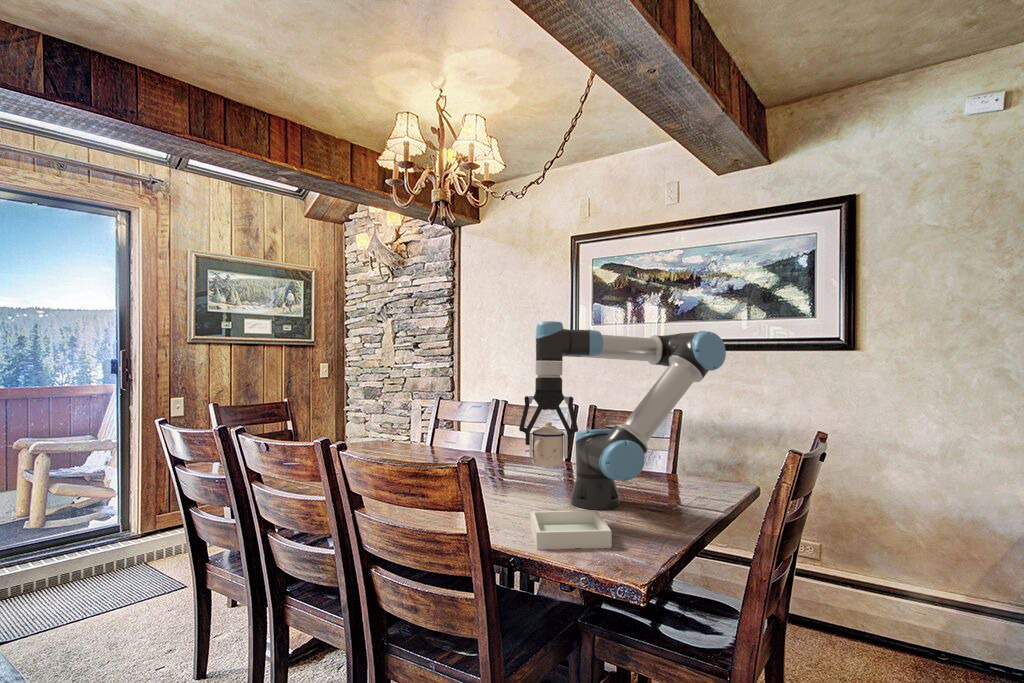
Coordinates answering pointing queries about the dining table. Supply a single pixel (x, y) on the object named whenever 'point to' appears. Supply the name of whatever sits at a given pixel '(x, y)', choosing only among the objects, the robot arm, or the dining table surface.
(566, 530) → the tray
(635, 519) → the dining table surface
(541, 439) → the teacup with lid
